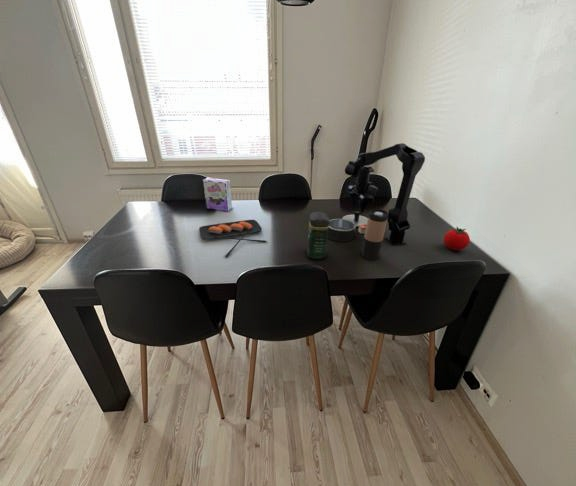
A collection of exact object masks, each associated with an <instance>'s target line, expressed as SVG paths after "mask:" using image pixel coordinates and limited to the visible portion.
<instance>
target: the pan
mask: <svg viewBox="0 0 576 486" xmlns="http://www.w3.org/2000/svg"><path fill="white" fill-rule="evenodd" d="M356 229H357V227H356V225H355V224H354V223H353V222H352V221H349V220H346V219H342V218H333V219H329V229H328V237H327V239H330V240H332V241H336V242H349V241H352V240H353V239H354V238H355V235H356Z"/></svg>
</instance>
